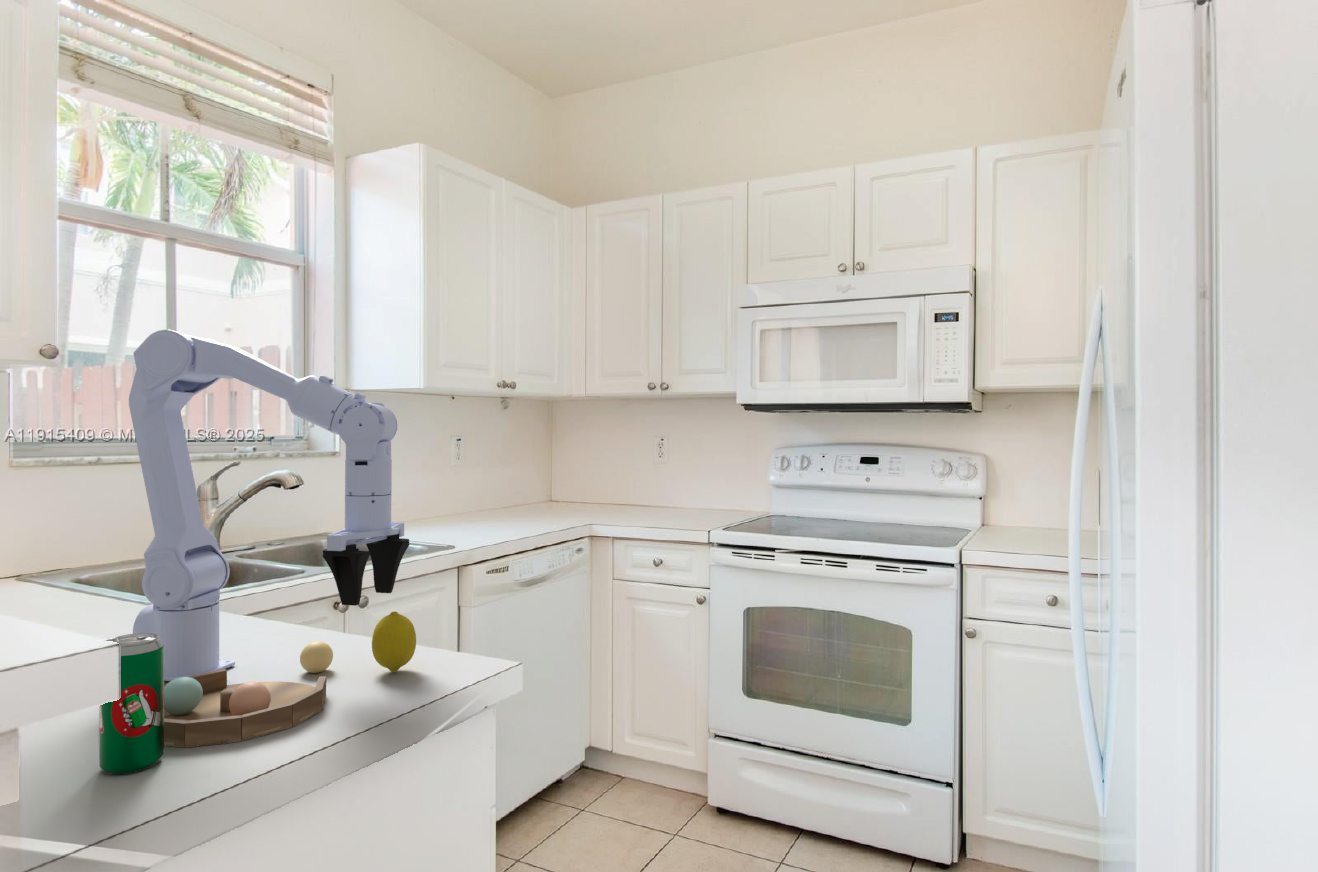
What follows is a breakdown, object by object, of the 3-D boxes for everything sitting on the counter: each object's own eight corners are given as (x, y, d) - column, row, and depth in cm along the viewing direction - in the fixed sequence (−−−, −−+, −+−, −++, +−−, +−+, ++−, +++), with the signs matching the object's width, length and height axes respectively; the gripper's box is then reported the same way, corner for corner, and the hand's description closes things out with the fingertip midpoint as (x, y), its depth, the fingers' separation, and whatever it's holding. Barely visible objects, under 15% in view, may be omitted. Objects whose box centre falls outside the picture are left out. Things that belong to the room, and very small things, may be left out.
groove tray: (81, 738, 79) (81, 714, 79) (222, 680, 98) (222, 661, 98) (245, 753, 76) (245, 729, 76) (358, 690, 94) (358, 670, 94)
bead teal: (151, 718, 84) (151, 682, 84) (180, 706, 88) (180, 671, 88) (182, 721, 83) (182, 684, 83) (211, 708, 87) (211, 673, 87)
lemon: (402, 680, 98) (402, 617, 98) (363, 677, 99) (363, 615, 99) (424, 667, 104) (424, 607, 104) (386, 664, 105) (386, 605, 105)
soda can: (120, 755, 75) (120, 632, 75) (174, 753, 76) (174, 630, 76) (86, 778, 70) (86, 646, 70) (145, 776, 71) (145, 644, 71)
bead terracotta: (220, 724, 82) (220, 687, 82) (247, 711, 86) (247, 675, 86) (253, 727, 81) (253, 689, 81) (278, 714, 85) (279, 678, 85)
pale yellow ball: (293, 675, 100) (293, 644, 100) (312, 666, 104) (312, 637, 104) (320, 677, 99) (320, 646, 99) (339, 668, 103) (339, 638, 103)
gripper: (363, 499, 93) (362, 612, 93) (424, 491, 108) (423, 589, 108) (311, 498, 95) (311, 609, 95) (378, 490, 109) (378, 586, 109)
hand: (367, 598), depth 101 cm, fingers open, 7 cm apart
